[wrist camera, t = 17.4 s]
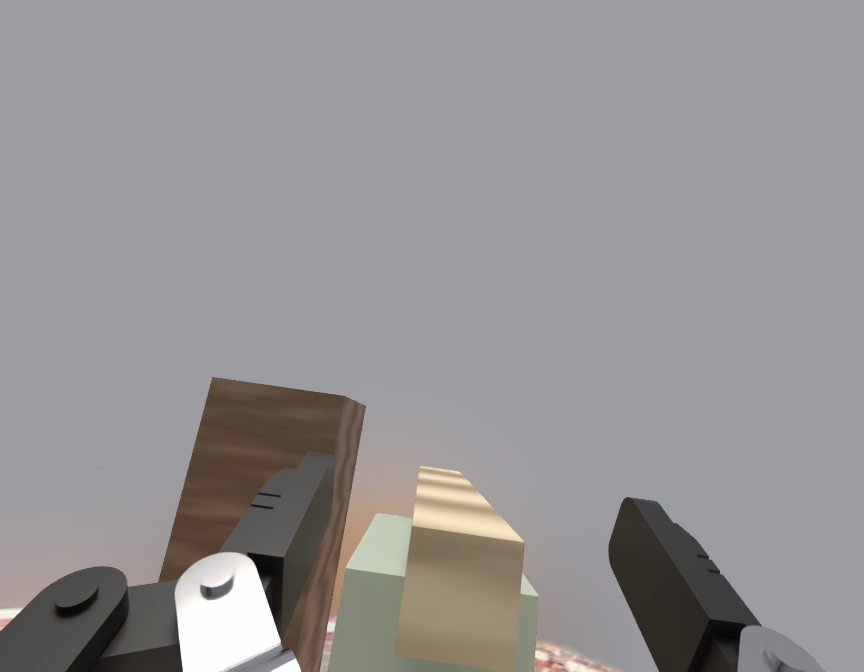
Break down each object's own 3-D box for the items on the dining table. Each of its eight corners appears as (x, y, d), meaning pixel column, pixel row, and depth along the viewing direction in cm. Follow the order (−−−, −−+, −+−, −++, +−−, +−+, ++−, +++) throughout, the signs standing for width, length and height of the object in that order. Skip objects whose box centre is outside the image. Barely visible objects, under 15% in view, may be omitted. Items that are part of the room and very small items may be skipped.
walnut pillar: (260, 842, 29) (344, 396, 37) (96, 816, 30) (212, 377, 37) (312, 712, 43) (365, 406, 50) (199, 695, 43) (269, 392, 51)
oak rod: (514, 673, 11) (524, 542, 12) (393, 655, 11) (412, 526, 12) (454, 514, 32) (459, 471, 33) (414, 508, 32) (419, 466, 33)
